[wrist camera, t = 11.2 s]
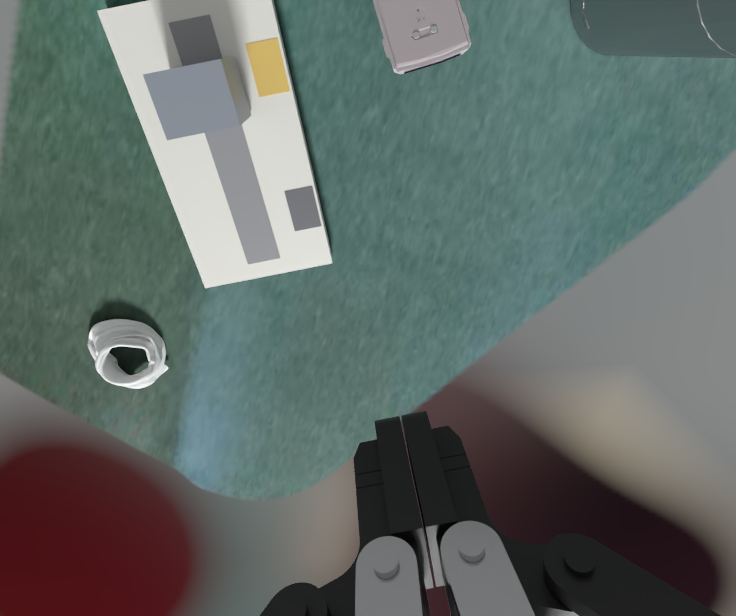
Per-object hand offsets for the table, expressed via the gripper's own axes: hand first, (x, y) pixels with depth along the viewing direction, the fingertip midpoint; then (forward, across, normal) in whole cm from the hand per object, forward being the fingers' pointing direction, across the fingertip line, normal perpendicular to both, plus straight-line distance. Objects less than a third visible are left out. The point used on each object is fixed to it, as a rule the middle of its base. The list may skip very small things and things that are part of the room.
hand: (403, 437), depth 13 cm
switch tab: (+30, +9, -9) cm, 32 cm away
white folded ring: (+32, +25, +13) cm, 43 cm away
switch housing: (+32, +9, -4) cm, 33 cm away
